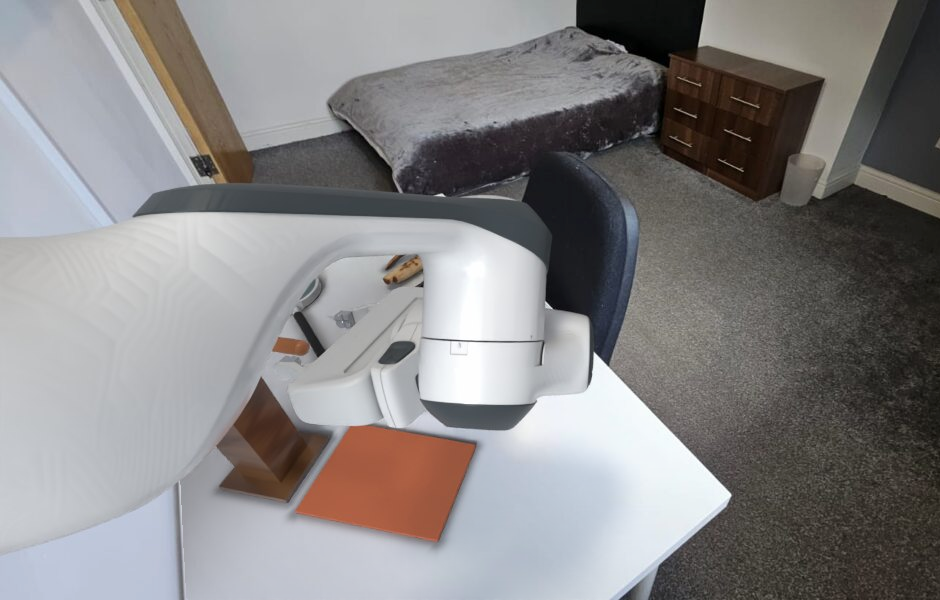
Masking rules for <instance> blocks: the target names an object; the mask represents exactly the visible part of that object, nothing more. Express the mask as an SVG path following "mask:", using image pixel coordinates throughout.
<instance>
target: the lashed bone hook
mask: <svg viewBox="0 0 940 600" xmlns="http://www.w3.org/2000/svg"><path fill="white" fill-rule="evenodd" d="M404 257H406V255H393V257H392V258H391V259H390V260H389V261H388V263H386V266H385V268H384V271H388V270H389V269H390V268H392V267H393V266H394V265H395V264H396V263H398V261H400V260H401V259H402V258H404ZM422 270H423V266H422V263H421V260H420V258H419V256H418V255H417V254H416V255H415V256H413V257H412V258H410V259H409V260H407V261H405V262H404V263H403V264H401V265H400V266H398V267H396V269H393V270H391V271H390V272H389V273H387V274H386V275H384V276H383V277H382V281H383V283H384V284H385V285H387V286H390V285H392V284H393V283H394V284H398V283H402V282H403V281H405V280H407V279H409V278H411V277H412V276H414V275H415V274H417V273H418V272H421V271H422Z"/></svg>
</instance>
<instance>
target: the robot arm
mask: <svg viewBox="0 0 940 600" xmlns="http://www.w3.org/2000/svg"><path fill="white" fill-rule="evenodd" d="M131 217H132V218H129V219H125V220H123V221H119V222H117V223H113V224H109V225H105V226H102V227H97V228H92V229H88V230H83V231H76V232H70V233H63V234H56V235H55V234H53V235H43V236H20V237H19V236H0V557H2V556H4V555H8V554H12V553H14V552H16V553H17V552H19V551H22V550H23V551H24V550H26V549H29V548H30V549H31V548H33V547H36V546H39V545H42V544H47V543H50V542H52V541H56V540H59V539H62V538H65V537H68V536H71V535H74V534H77V533H80V532H83V531H86V530H89V529H92V528H94V527H97V526H99V525H103V524H106V523H108V522H111V521H113V520H115V519H118V518H121V517H122V516H125V515H127V514H129V513H131V512H134V511H137V510H139V509H141V508H142V507H144V506H146V505H147V504H149V503H151V502H153V501H154V500H156V499H157V498H159V497H160V496H161V495H163V494H164V493H165V492H167V491H168V490H169V489H171V488H172V487H174V486H175V485H176V484H178V483H179V482H180V481H181V480H182V479H183V478H184V477H186V476H187V475H188V474H189V473H190V472H192V471H193V470H194V469H195V468H196V467H197V466H198V465H199V464H200V463H202V462H203V460H204V459H205V458H206V457H207V456H208V455H209V454H210V453H211V452H212V451H213V450H214V449H215V448H217V447H216V446H217V444H218V443H219V442H220V441H221V440H222V439H223V437H224V436H225V435H226V433H227V432H228V431H229V430H230V428H231V427H232V426H233V424H234V423H235V421H236V420H237V419H238V417H239V416H240V414H241V413H242V411H243V409H244V408H245V406H246V405H247V403H248V401H249V400H250V398H251V396H252V394H253V392H254V390H255V388H256V386H257V384H258V382H259V380H260V377H262V375H263V373H264V370H265V368H266V366H267V363H268V361H269V359H270V358H271V354H272V350H273V348H274V346H275V343H276V341H277V339H278V337H280V335H281V333H282V331H283V329H284V327H285V325H286V323H287V322H288V320H289V318H290V316H291V315H292V314H291V313H292V311H293V310H294V308H295V306H296V305H297V303H298V302H299V300H300V298H301V297H302V295H303V294H304V292H305V291H306V289H307V288H308V287H309V285H310V284H311V283H312V282H313V280H314V279H315V278H316V277H318V276H319V275H320V274H321V273H322V272H323V271H325V269H327V268H328V267H329V266H331V265H332V264H334V263H336V262H338V261H339V260H340V261H341V260H343V259H347V258H365V257H366V258H367V257H386V256H387V257H388V256H395V255H405V256H411V255H416V256H417V255H418V256H419V258H420V260H421V263H422V266H423V269H422V270H423V281H424V288H422V287H415V286H411V285H410V286H408V285H407V286H400V287H397V288H393V289H392V290H391V291H390V292H389V293H388V294H387V295H386V296H384V297H383V298H382V299H381V300H380V301H379V302H378V303H370V304H367V305H363V306H360V307H355V308H341V309H340V310H339V311H338V312H337V313H336V314H335V315H334V316H333V320H334V321H335V326H336V327H337V328H339V329H346V330H347V329H348V330H347V331H346V332H345V333H344V334H343V335H342V336H341V337H340V338H338V339H337V340H336V341H335V342H333V344H332V345H331V346H329V347H328V348H327V349H325V352H324V353H323V354H322V355H321V356H320V357H319V358H318V357H317V358H316V359H315V360H314V361H313V362H308V363H305V365H302V360H301V356H297V355H292V356H290V355H285V356H283V357H282V358H281V359H280V360H278V361H276V363H275V364H273V370H274V373H275V374H276V377H277V378H279V379H280V380H282V381H283V380H284V381H291V382H290V383H289V384H288V385H287V387H286V392H287V396H288V398H289V401H290V404H291V407H292V408H293V409H292V410H293V411H294V412H295V414H296V416H297V417H298V419H300V421H302V422H303V423H306V424H311V425H319V426H333V427H334V426H336V427H350V426H363V425H367V426H370V425H372V424H375V423H378V422H379V421H382V420H383V419H384V421H385V423H386V425H387V426H388V427H389V428H392V429H393V428H394V429H403V428H406V427H408V426H409V425H411V424H412V423H413V422H415V421H416V420H417V419H418V418H419V417H420V416H421V415H423V414H425V412H426V411H427V412H428V413H429V414H430V415H431V416H433V417H434V418H435V419H436V420H437V421H438V422H439V423H441V424H442V425H443V426H445V427H446V428H450V429H451V428H452V429H467V430H478V431H479V430H480V431H481V430H482V431H495V432H496V431H499V432H501V431H504V432H505V431H510V430H512V429H514V428H515V427H516V426H517V425H518V424H519V423H520V422H521V421H522V420H523V419H524V418H525V417H526V416H527V415H528V414H529V413H530V412H531V410H532V409H533V408H534V407H535V405H536V404H537V403H538V399H539V398H542V397H555V396H556V397H557V396H568V395H579V394H584V393H585V392H587V390H588V389H589V386H590V385H591V383H592V379H593V370H594V360H595V359H594V358H595V341H594V337H595V334H594V333H595V332H594V327H593V323H592V321H591V320H590V318H589V316H587V315H586V314H581V313H577V312H572V311H566V310H561V309H554V308H548V307H546V295H547V293H546V292H547V289H546V288H547V275H548V273H549V267H550V258H551V252H552V251H551V250H552V242H553V234H552V233H551V231H550V229H549V228H548V227H547V225H546V223H545V222H544V221H543V219H542V217H540V215H538V213H537V212H536V211H535V210H534V209H533V208H532V207H531V206H530V205H529V204H528V203H527V202H524V201H520V200H517V199H515V198H511V197H507V196H504V195H503V196H502V195H496V194H495V195H494V194H475V195H465V196H443V195H428V194H417V193H407V192H393V191H382V190H371V189H370V190H368V189H357V188H345V187H331V186H314V185H298V184H276V183H254V182H253V183H251V182H250V183H247V182H225V183H223V182H222V183H203V184H194V185H186V186H180V187H174V188H170V189H165V190H161V191H157V192H154V193H152V194H151V195H150V196H149V197H148V198H147V200H146V201H144V202H143V204H142V205H141V206H140V207H139V208H138V209H137V210H136V211H135V212H134V214H132V216H131Z"/></svg>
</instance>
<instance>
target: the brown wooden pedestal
mask: <svg viewBox="0 0 940 600" xmlns="http://www.w3.org/2000/svg"><path fill="white" fill-rule="evenodd" d="M330 440H331V438H330V436H329V435H325V434H321V433H313V432H309V431H305V430H298V429H297V427H296V426H295V424H294V423H293V421H292V419H291V418H290V417H289V415H288V414H287V413H286V411H285V409H284V407H282V405H281V403H280V402H279V400H278V399H277V397H276V396H275V395H274V393H273V391H272V390H271V388H270V387H269V385H268V384H267V382H266V381H265V380H264V378H263V377H262V376H261V377H260V380H259V382H258V384H257V386H256V388H255V390H254V392H253V394H252V396H251V398H250V400H249V401H248V403H247V405H246V406H245V408H244V409H243V411H242V413H241V414H240V416H239V417H238V419H237V420H236V421H235V423H234V424H233V426H232V427H231V428H230V430H229V431H228V432H227V433H226V435H225V436H224V437H223V439H222V440H221V441H220V442H219V443H218V444H217V446H216V447H215V448H216V449H217V450H218V451H219V452H220V453H221V454H222V455H223V456H224V457H225V459H226V460H227V461H228V462H229V463H230V464H231V465H232V466H233V468H232V469H231V470H230V471H229V472H228V474H227V475H226V476H225V478H224V479H223V480H222V481H221V483H220V484H219V485H218V487H219V489H220V490H222V491H225V492H230V493H236V494H240V495H246V496H250V497H255V498H260V499H266V500H271V501H275V502H279V503H285V504H289V502H290V500H291V499H292V497H293V496H294V494H295V493H296V491H297V490H298V488H299V487H300V485H301V484H302V482H303V481H304V480H305V478H306V476H307V475H308V473H309V472H310V470H311V469H312V468H313V466H314V465H315V463H316V462H317V460H318V458H319V457H320V455H321V454H322V453H323V451H324V450H325V448H326V446H328V443H329V442H330Z"/></svg>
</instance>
